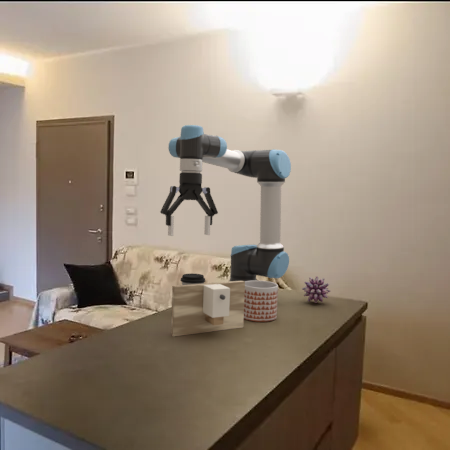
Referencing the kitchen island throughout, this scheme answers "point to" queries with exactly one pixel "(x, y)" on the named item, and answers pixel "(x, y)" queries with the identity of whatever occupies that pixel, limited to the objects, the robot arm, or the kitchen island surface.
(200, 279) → the coffee cup
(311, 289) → the purple spiky ball
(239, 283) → the wooden board
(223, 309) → the cabinet
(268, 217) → the robot arm
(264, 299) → the planter
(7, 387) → the kitchen island surface
